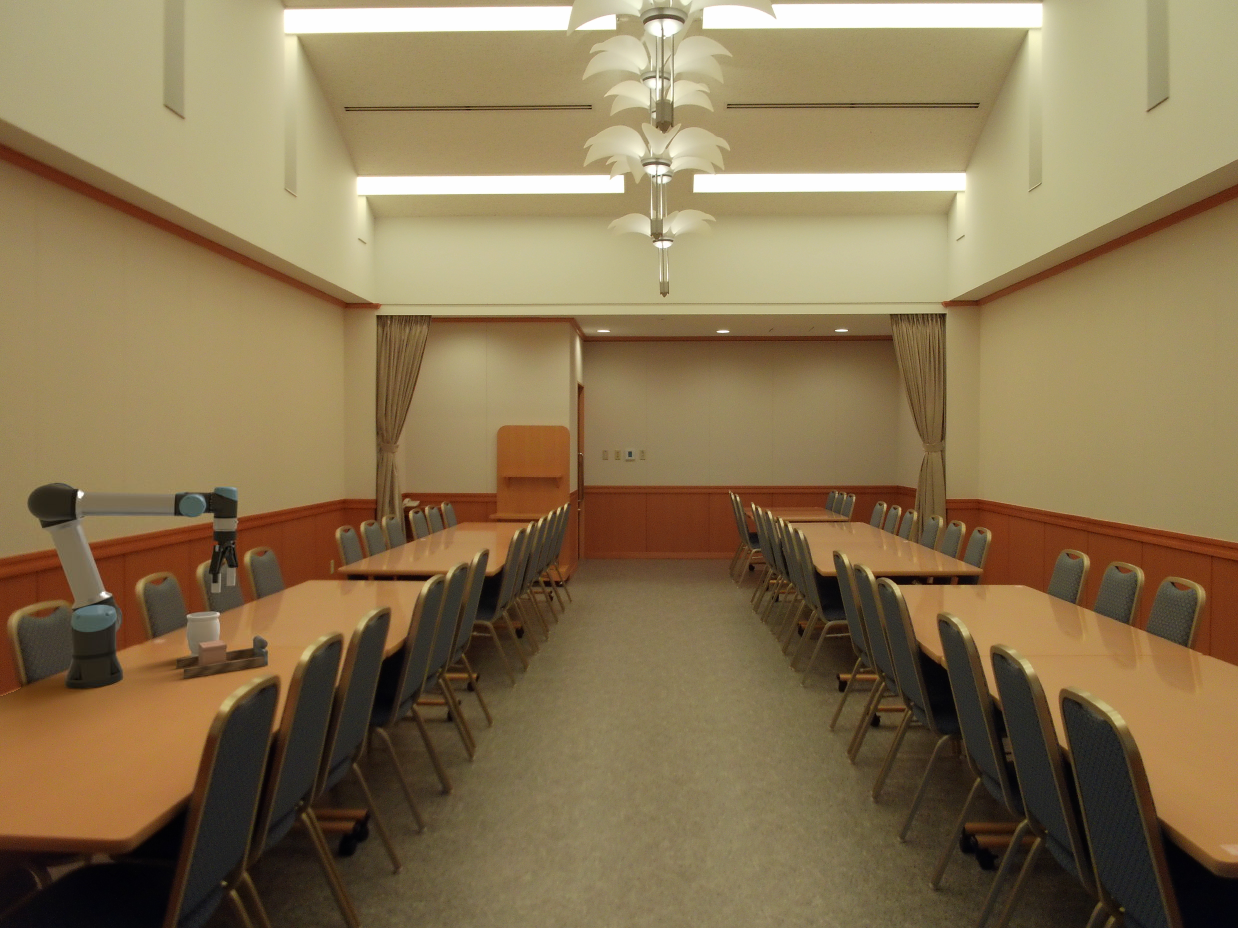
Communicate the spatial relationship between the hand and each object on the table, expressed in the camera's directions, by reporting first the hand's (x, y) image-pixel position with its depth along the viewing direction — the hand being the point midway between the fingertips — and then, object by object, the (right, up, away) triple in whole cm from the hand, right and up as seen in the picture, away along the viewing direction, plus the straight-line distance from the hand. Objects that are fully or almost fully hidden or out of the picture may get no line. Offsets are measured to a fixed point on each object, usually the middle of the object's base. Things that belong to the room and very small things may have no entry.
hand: (223, 589), depth 266 cm
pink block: (+3, -25, -13) cm, 28 cm away
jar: (-8, -25, +2) cm, 26 cm away
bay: (+6, -25, -11) cm, 28 cm away
